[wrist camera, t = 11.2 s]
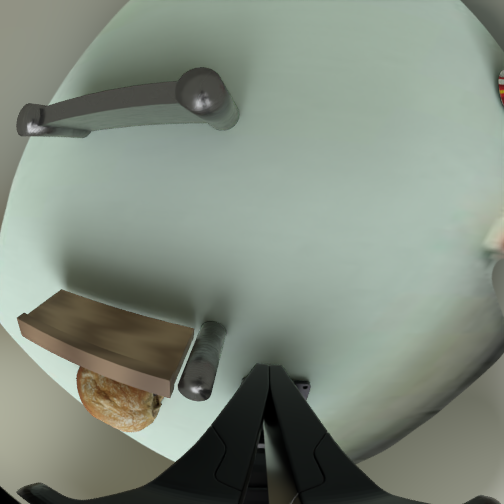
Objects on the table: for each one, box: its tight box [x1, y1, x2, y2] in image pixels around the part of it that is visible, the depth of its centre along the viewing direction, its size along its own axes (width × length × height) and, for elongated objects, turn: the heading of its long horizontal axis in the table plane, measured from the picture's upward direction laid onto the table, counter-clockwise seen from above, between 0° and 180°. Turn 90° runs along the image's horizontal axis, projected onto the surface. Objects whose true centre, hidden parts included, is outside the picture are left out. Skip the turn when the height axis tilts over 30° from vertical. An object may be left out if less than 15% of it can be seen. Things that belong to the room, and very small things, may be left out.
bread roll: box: [76, 366, 164, 432], centre depth 23 cm, size 10×10×8 cm
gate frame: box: [17, 67, 239, 401], centre depth 16 cm, size 19×14×7 cm
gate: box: [17, 289, 194, 398], centre depth 18 cm, size 14×2×7 cm, turn 80°
